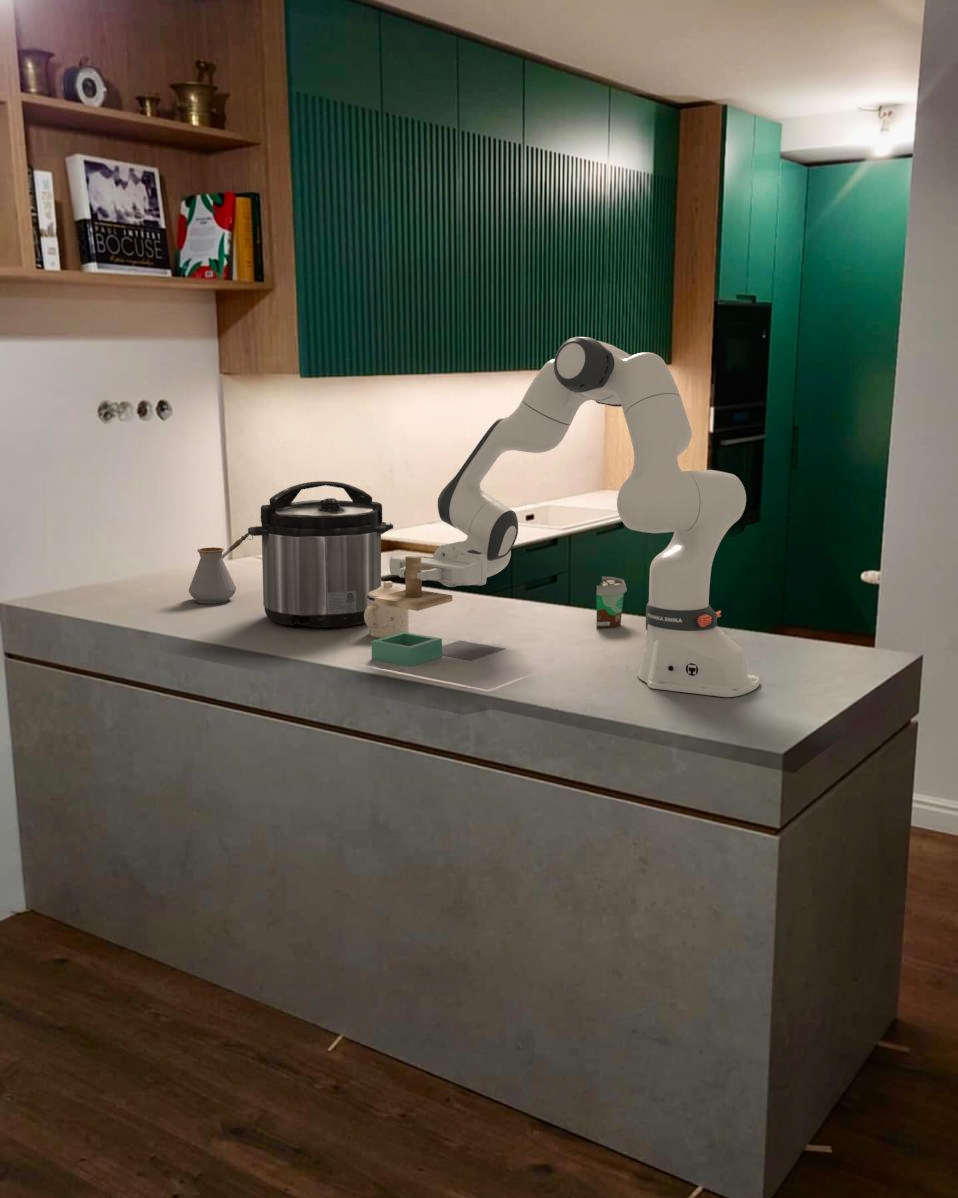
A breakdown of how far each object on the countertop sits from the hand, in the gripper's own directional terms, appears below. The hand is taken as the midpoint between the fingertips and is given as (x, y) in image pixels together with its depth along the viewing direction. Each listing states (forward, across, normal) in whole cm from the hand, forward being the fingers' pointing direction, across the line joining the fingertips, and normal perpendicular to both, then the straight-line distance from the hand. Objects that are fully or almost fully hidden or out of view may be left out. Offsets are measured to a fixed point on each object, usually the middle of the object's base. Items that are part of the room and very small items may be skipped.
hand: (410, 574), depth 235 cm
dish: (+1, 0, +17) cm, 17 cm away
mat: (-11, +6, +17) cm, 21 cm away
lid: (-1, 0, +6) cm, 6 cm away
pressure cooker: (-17, -40, +18) cm, 47 cm away
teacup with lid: (-12, -17, +18) cm, 27 cm away
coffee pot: (-19, -76, +18) cm, 81 cm away
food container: (-50, +17, +18) cm, 56 cm away
